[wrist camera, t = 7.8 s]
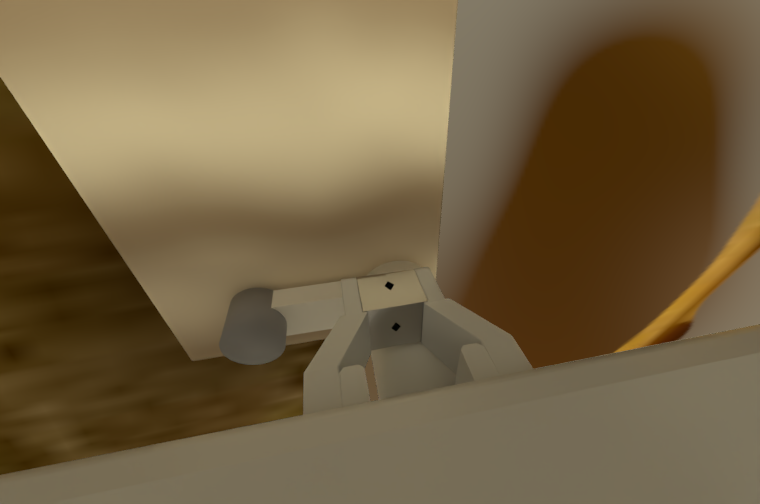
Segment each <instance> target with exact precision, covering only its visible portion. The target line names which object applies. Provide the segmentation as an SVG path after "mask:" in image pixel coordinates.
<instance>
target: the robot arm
mask: <svg viewBox="0 0 760 504" xmlns="http://www.w3.org/2000/svg"><path fill="white" fill-rule="evenodd" d="M341 289H342V297H343V304H344V312H345V315H344V316H340V318H339V319H338V321H337V322H336V324H335V325H334V327H333V328H332V330H331V331H330V333H329V335H328V336H327V338H326V339H325V341H324V342H323V344H322V345H321V347H320V349H319V350H318V352H317V353H316V355H315V356H314V358H313V359H312V361H311V362H310V364H309V366H308V367H307V369H306V370H305V372H304V389H303V415H300V416H295V417H290V418H285V419H280V420H275V421H270V422H265V423H260V424H254V425H249V426H244V427H239V428H234V429H229V430H224V431H219V432H214V433H209V434H204V435H199V436H194V437H189V438H184V439H179V440H174V441H169V442H164V443H159V444H154V445H149V446H144V447H139V448H134V449H128V450H123V451H118V452H113V453H108V454H103V455H98V456H93V457H88V458H83V459H78V460H73V461H68V462H63V463H58V464H53V465H48V466H43V467H38V468H33V469H28V470H23V471H18V472H13V473H8V474H3V475H0V504H760V324H758V325H753V326H748V327H743V328H738V329H733V330H728V331H723V332H718V333H713V334H708V335H703V336H698V337H693V338H688V339H683V340H678V341H673V342H668V343H662V344H657V345H652V346H647V347H642V348H637V349H632V350H627V351H622V352H617V353H612V354H607V355H602V356H597V357H592V358H587V359H582V360H577V361H572V362H567V363H562V364H557V365H551V366H546V367H542V368H537V369H533V368H532V366H531V365H530V363H529V362H528V360H527V358H526V357H525V355H524V354H523V352H522V351H521V349H520V348H519V346H518V345H517V343H516V341H515V340H514V338H513V337H512V335H510V334H508V333H507V332H505V331H503V330H502V329H500V328H498V327H496V326H495V325H493V324H491V323H490V322H488V321H486V320H485V319H483V318H481V317H480V316H478V315H476V314H475V313H473V312H471V311H470V310H468V309H466V308H465V307H463V306H461V305H460V304H458V303H456V302H455V301H453V300H451V299H445V298H444V296H443V294H442V292H441V290H440V288H439V286H438V284H437V282H436V280H435V278H434V276H433V274H432V272H431V270H430V268H429V267H421V268H415V269H410V270H404V271H398V272H391V273H384V274H377V275H369V276H361V277H356V278H347V279H341ZM416 342H421V343H422V344H423V345H424V346H425V347H426V348H427V349H428V350H430V351H431V352H432V353H433V354H434V355H435V356H436V357H437V358H438V359H439V360H441V361H442V362H443V363H444V364H445V365H446V366H447V367H448V368H449V369H450V370H452V371H453V372H454V373H455V374H456V378H455V384H454V385H451V386H446V387H441V388H436V389H431V390H426V391H421V392H416V393H411V394H406V395H401V396H396V397H391V398H386V399H380V400H375V401H370V396H369V391H368V385H367V379H366V374H365V367H366V364H367V362H368V359H369V357H370V354H371V351H372V350H377V349H382V348H386V347H391V346H396V345H403V344H410V343H416Z"/></svg>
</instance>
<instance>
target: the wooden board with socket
mask: <svg viewBox="0 0 760 504" xmlns="http://www.w3.org/2000/svg"><path fill="white" fill-rule="evenodd" d="M457 3H458V0H0V77H1V78H2V80H3V81H4V83H5V84H6V86H7V87H8V89H9V90H10V92H11V93H12V95H13V96H14V98H15V99H16V101H17V102H18V104H19V105H20V107H21V108H22V110H23V111H24V112H25V114H26V115H27V117H28V118H29V120H30V121H31V123H32V124H33V126H34V127H35V129H36V130H37V132H38V133H39V135H40V136H41V138H42V139H43V141H44V142H45V144H46V145H47V147H48V148H49V150H50V151H51V153H52V154H53V156H54V157H55V158H56V160H57V161H58V163H59V164H60V166H61V167H62V169H63V170H64V172H65V173H66V175H67V176H68V178H69V179H70V181H71V182H72V184H73V185H74V187H75V188H76V190H77V191H78V193H79V194H80V196H81V197H82V199H83V200H84V202H85V203H86V204H87V206H88V207H89V209H90V210H91V212H92V213H93V215H94V216H95V218H96V219H97V221H98V222H99V224H100V225H101V227H102V228H103V230H104V231H105V233H106V234H107V236H108V237H109V239H110V240H111V242H112V243H113V245H114V246H115V248H116V249H117V250H118V252H119V253H120V255H121V256H122V258H123V259H124V261H125V262H126V264H127V265H128V267H129V268H130V270H131V271H132V273H133V274H134V276H135V277H136V279H137V280H138V282H139V283H140V285H141V286H142V288H143V289H144V291H145V292H146V293H147V295H148V296H149V298H150V299H151V301H152V302H153V304H154V305H155V307H156V308H157V310H158V311H159V313H160V314H161V316H162V317H163V319H164V320H165V322H166V323H167V325H168V326H169V328H170V329H171V331H172V332H173V334H174V335H175V337H176V338H177V339H178V341H179V342H180V344H181V345H182V347H183V348H184V350H185V351H186V353H187V354H188V356H189V357H190V359H191V360H192V361H197V360H203V359H209V358H214V357H220V356H224V355H223V354H222V352H221V350H220V347H219V342H220V338H221V335H222V331H223V327H224V324H225V320H226V317H227V313H228V309H229V306H230V302H231V300H232V298H233V297H234V296H235V295H236V294H237V293H239V292H241V291H243V290H246V289H249V288H267V289H271V290H280V289H288V288H295V287H302V286H309V285H316V284H323V283H330V282H337V281H341V279H347V278H356V277H361V276H367V275H368V273H370V272H371V271H372V270H373V269H375V268H376V267H378V266H380V265H382V264H384V263H387V262H391V261H399V260H401V261H410V262H413V263H416V264H418V265H420V266H421V267H429V268H430V270H431V272H432V274H433V276H434V278H435V280H436V273H437V260H438V259H437V258H438V246H439V234H440V222H441V209H442V196H443V183H444V171H445V158H446V145H447V132H448V120H449V107H450V94H451V81H452V69H453V68H452V67H453V56H454V43H455V30H456V18H457ZM331 330H332V329H327V330H321V331H315V332H308V333H302V334H296V335H289V336H286V345H292V344H298V343H304V342H310V341H316V340H322V339H326V338H327V336H328V335H329V333H330V331H331Z"/></svg>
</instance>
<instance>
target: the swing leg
mask: <svg viewBox="0 0 760 504" xmlns="http://www.w3.org/2000/svg"><path fill="white" fill-rule="evenodd" d="M415 268H421V266H420V265H418V264H416V263H413V262H410V261H401V260H399V261H391V262H387V263H384V264H382V265H380V266H378V267H376V268H375V269H373V270H372V271H371V272H370V273H368V275H367V276H369V275H377V274H384V273H391V272H398V271H404V270H410V269H415ZM344 315H345V312H344V304H343V297H342V289H341V281H337V282H330V283H323V284H316V285H309V286H302V287H295V288H288V289H280V290H271V289H267V288H249V289H246V290H243V291H241V292H239V293H237V294H236V295H235V296H234V297H233V298H232V300H231V302H230V306H229V309H228V313H227V317H226V320H225V324H224V327H223V331H222V335H221V338H220V342H219V347H220V350H221V352H222V354H223V355H224V356H225V357H227V358H228V359H230V360H232V361H234V362H237V363H240V364H246V365H259V364H264V363H268V362H271V361H273V360H275V359H277V358H278V357H279V356H281V354H282V353H283V352H284V350H285V346H286V336H289V335H296V334H302V333H308V332H315V331H321V330H327V329H332V328H333V327H334V325H335V324H336V322H337V321H338V319H339V318H340V316H344ZM371 358H372V364H373V369H374V375H375V381H376V386H377V392H378V398H379V400H380V399H386V398H391V397H396V396H401V395H406V394H411V393H416V392H421V391H426V390H431V389H436V388H441V387H446V386H451V385H454V384H455V378H456V374H455V373H454V372H453V371H452V370H450V369H449V368H448V367H447V366H446V365H445V364H444V363H443V362H442V361H441V360H439V359H438V358H437V357H436V356H435V355H434V354H433V353H432V352H431V351H430V350H428V349H427V348H426V347H425V346H424V345H423V344H422V343H421V342H416V343H410V344H403V345H396V346H391V347H386V348H382V349H377V350H372V351H371Z"/></svg>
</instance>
